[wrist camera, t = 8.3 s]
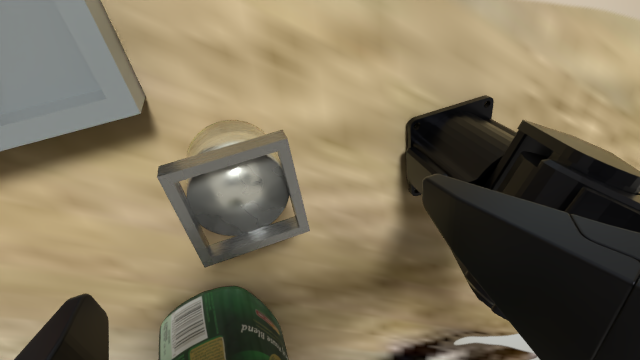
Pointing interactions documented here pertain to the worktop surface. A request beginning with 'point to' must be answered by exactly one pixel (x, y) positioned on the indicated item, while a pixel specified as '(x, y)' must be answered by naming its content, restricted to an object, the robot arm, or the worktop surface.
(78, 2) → the tray
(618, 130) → the worktop surface
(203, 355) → the coffee jar
